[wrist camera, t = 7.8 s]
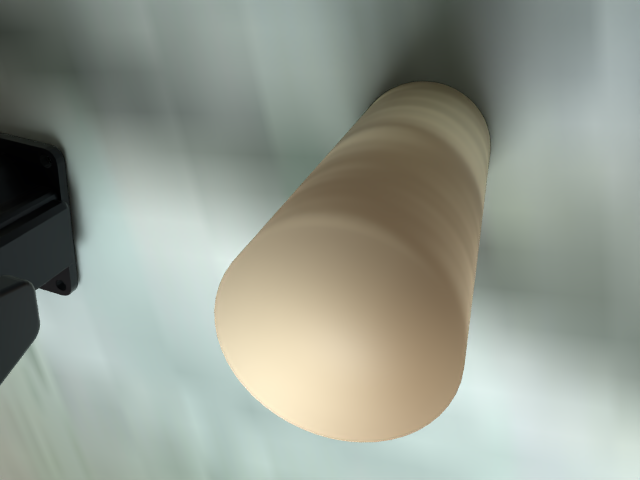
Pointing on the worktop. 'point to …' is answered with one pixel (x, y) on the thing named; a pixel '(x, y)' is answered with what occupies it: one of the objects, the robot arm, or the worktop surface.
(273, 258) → the wooden dowel
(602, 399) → the worktop surface
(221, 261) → the worktop surface
